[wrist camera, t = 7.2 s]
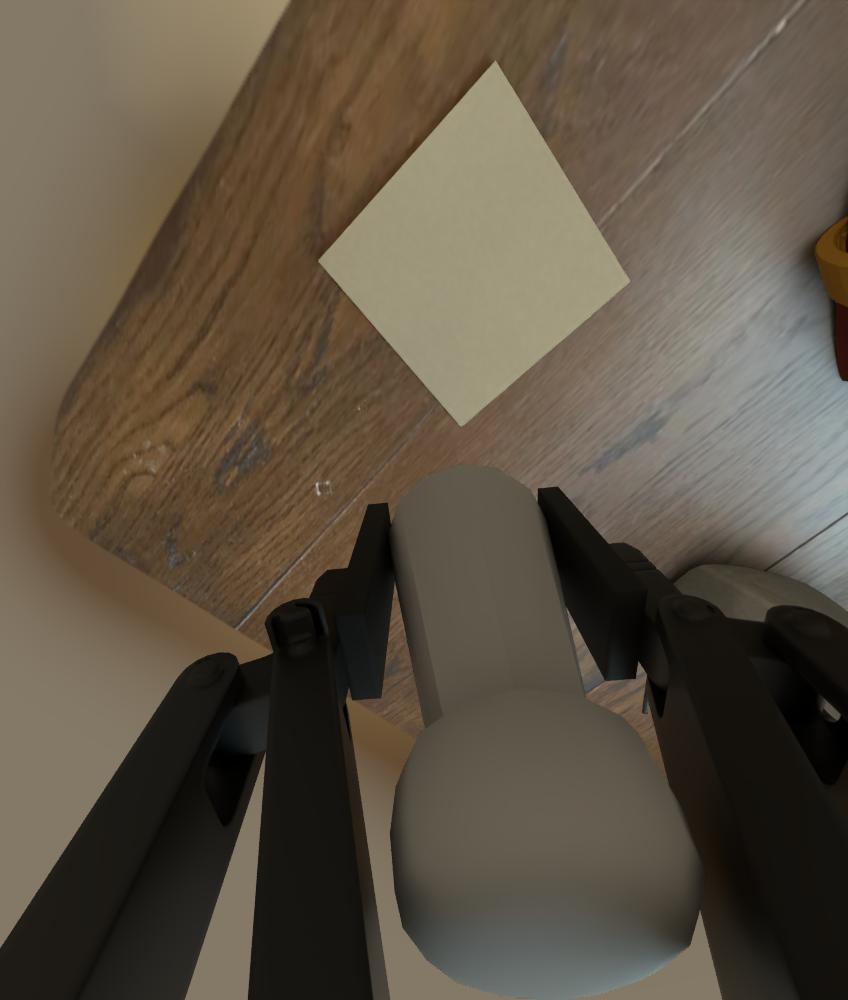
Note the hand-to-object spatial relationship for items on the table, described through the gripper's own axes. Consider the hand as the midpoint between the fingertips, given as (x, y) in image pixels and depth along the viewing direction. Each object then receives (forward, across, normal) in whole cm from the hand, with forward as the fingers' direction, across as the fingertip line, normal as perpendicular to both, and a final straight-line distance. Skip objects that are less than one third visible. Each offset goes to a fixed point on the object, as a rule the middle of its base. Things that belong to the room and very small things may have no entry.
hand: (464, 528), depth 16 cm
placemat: (+15, +3, +10) cm, 19 cm away
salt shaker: (+2, 0, 0) cm, 2 cm away
